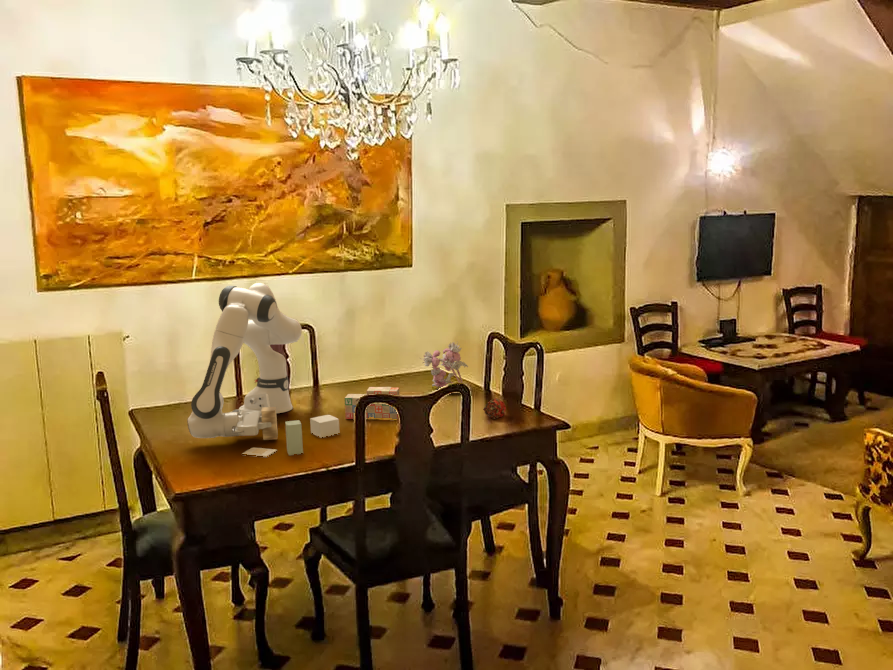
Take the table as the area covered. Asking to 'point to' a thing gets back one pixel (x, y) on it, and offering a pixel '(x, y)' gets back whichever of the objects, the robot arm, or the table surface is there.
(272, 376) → the robot arm
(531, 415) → the table surface
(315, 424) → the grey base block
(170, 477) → the table surface
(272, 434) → the birch block
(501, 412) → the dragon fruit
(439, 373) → the flower
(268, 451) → the card
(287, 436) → the sage block
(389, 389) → the stack of blocks
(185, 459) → the table surface
